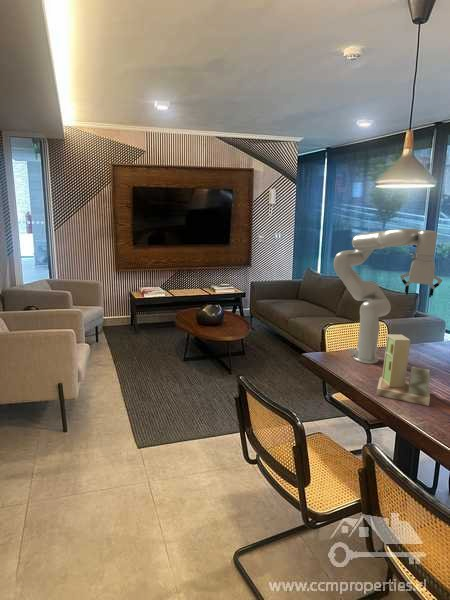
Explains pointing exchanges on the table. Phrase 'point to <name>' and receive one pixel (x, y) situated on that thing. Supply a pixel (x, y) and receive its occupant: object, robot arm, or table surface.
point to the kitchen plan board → (403, 395)
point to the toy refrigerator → (396, 360)
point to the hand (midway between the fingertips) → (418, 295)
